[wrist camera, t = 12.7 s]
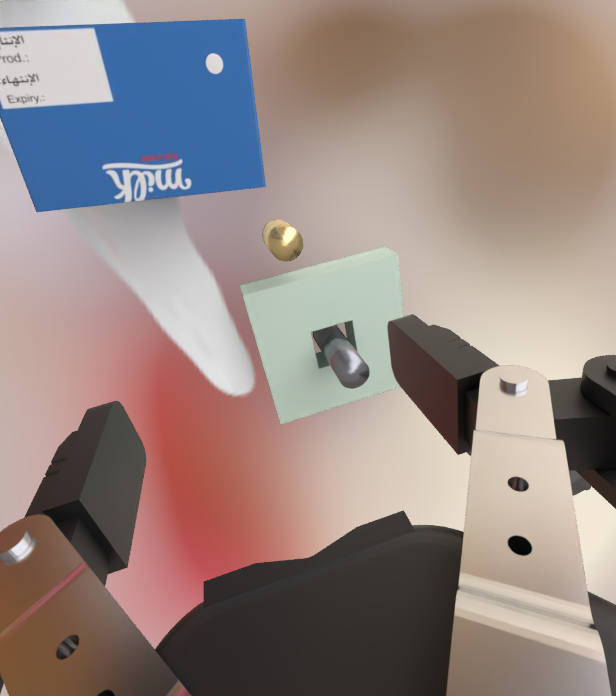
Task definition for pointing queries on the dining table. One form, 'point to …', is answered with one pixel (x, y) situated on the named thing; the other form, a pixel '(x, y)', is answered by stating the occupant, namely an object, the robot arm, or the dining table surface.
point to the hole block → (320, 312)
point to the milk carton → (130, 111)
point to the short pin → (282, 240)
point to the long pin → (342, 357)
